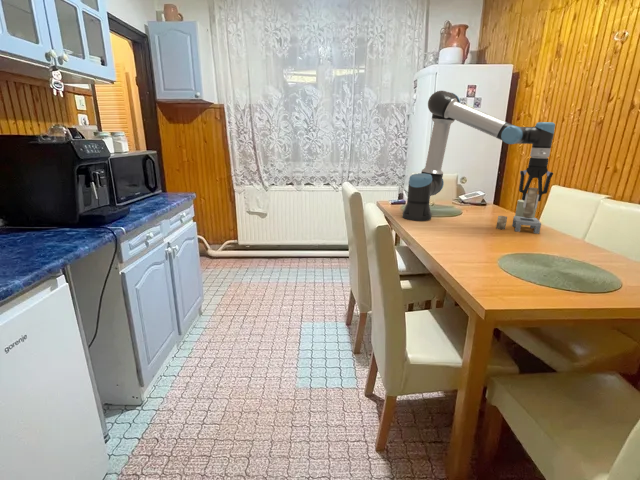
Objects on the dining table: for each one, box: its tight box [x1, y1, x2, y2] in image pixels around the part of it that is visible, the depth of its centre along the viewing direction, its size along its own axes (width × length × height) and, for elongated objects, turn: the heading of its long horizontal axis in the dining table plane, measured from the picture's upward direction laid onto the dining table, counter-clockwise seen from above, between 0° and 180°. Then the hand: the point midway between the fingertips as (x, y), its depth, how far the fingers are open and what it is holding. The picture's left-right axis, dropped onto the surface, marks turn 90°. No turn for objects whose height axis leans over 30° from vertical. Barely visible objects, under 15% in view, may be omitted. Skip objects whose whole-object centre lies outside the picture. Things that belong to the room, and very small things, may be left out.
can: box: [514, 199, 537, 218], centre depth 181 cm, size 9×9×12 cm
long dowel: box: [523, 187, 539, 218], centre depth 166 cm, size 4×4×14 cm
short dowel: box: [495, 215, 508, 231], centre depth 170 cm, size 4×4×6 cm
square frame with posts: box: [511, 215, 542, 235], centre depth 169 cm, size 10×12×5 cm
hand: (529, 207), depth 166 cm, fingers closed on long dowel, 4 cm apart
